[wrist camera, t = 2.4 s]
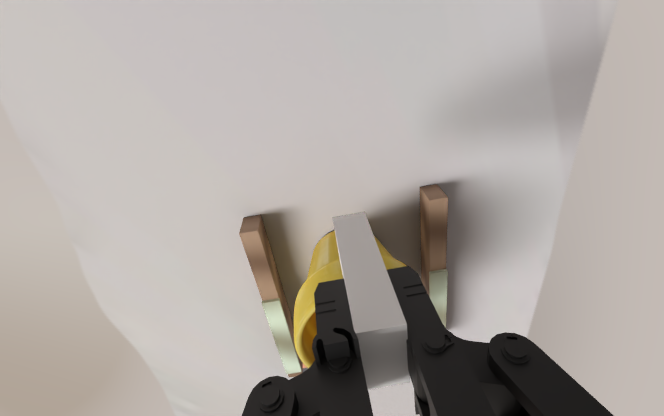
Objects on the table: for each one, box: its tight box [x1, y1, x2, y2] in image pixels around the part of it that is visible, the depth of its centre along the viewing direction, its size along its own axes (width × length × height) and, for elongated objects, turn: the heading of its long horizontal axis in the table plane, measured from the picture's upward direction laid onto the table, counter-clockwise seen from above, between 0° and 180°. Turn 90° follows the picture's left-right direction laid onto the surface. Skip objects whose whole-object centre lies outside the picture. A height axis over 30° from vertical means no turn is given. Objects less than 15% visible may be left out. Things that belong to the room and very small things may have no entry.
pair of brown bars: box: [239, 184, 448, 377], centre depth 32 cm, size 19×17×3 cm
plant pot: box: [294, 230, 406, 368], centre depth 28 cm, size 10×10×10 cm
